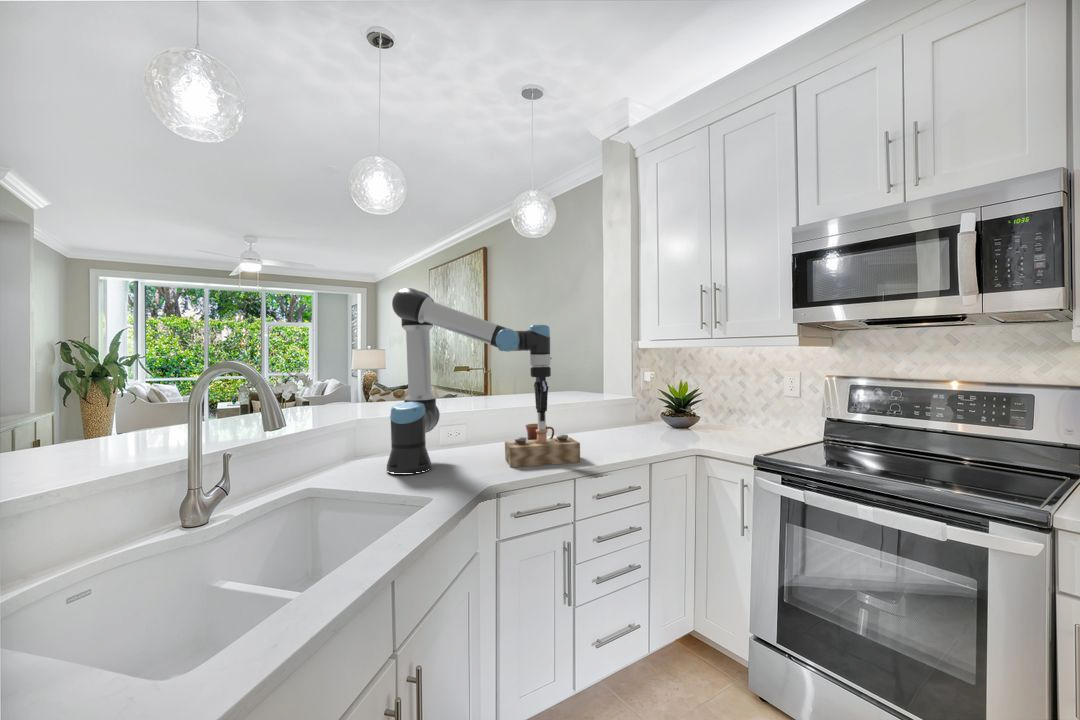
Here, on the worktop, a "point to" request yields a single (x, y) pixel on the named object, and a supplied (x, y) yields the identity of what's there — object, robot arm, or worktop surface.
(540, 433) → the plug mid
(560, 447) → the socket board
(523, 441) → the plug near
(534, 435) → the mug
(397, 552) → the worktop surface
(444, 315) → the robot arm
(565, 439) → the plug far
